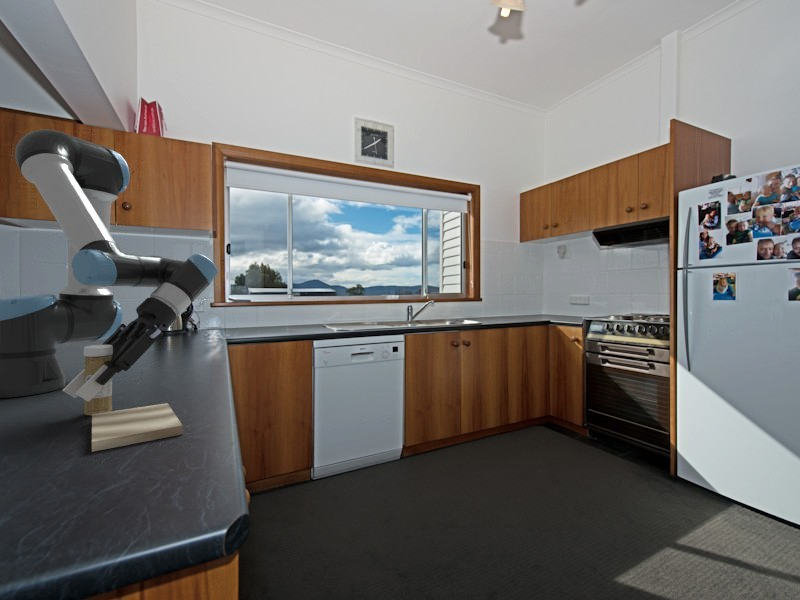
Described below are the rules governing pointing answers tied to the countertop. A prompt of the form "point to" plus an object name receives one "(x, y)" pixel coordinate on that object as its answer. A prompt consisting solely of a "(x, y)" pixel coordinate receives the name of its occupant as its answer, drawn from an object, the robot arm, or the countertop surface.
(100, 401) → the sprinkles bottle
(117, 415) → the birch board
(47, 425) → the countertop surface
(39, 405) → the countertop surface
